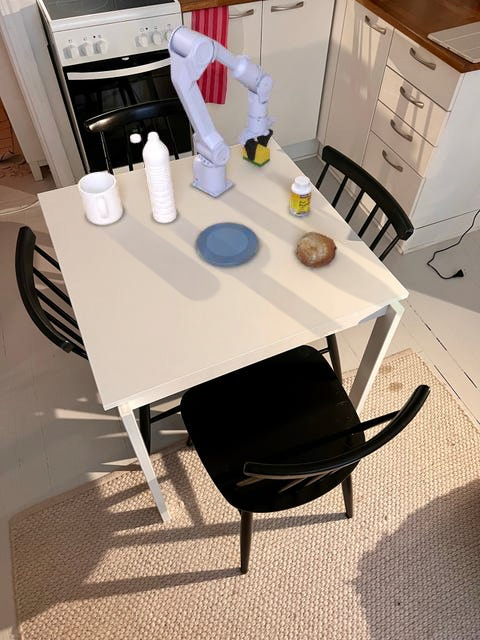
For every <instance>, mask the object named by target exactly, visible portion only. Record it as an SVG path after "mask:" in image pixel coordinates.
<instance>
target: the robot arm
mask: <svg viewBox="0 0 480 640" xmlns="http://www.w3.org/2000/svg"><path fill="white" fill-rule="evenodd" d="M166 47H167V51H168V53H169V56H170V79H171V82H172V85H173V87H174V89H175V91H176V93H177V96H178V98H179V100H180V102H181V104H182V107H183V110H184V111H185V113H186V116H187V118H188V120H189V123H190V124H191V127H192V128H193V131H194V133H193V134H192V138H193V142H194V144H193V147H194V150H195V152H196V153H198V154H197V155H196V156H195V157H194V159H193V163H192V173H193V183H191V185H192V186H193V187H195V188H197V189H199V190H200V191H202V192H204V193H206V194H208V195H210V196H212V197H213V198H217V197H218V196H220V195H221V194H223V193H224V192H226V191H227V190H229V188H231V187H233V185H234V184H233V183H232V182H231V181H229V180H227V163H228V162H229V160H230V158H231V155H232V149H231V146H230V145H228V144H227V143H226V142H225V139H224V138H223V137H222V136H221V135H220V133H219V132H218V131H217V130H216V126H215V125H214V122H213V119H212V117H211V114H210V112H209V110H208V108H207V105H206V103H205V100H204V98H203V97H204V96H203V95H202V92H201V90H200V87H199V85H198V83H197V81H199V80H200V78H201V76H202V75H203V73H204V72H205V71H206V69H207V67H208V66H209V64H210V63H211V64H213V63H214V62H215V61H217V62H218V63H220V64H222V65H223V66H225V67H226V68H227V69H228V74H229V75H230V77H231V78H232V79H234V80H236V81H237V82H238V83H240V84H241V85H242V86H243V87H244V88H247V113H246V115H247V120H246V122H247V123H246V125H247V126H246V127H245V129H244V130H243V131H242V133H241V134H240V135H239V136H238V142H237V143H238V144H240V145H241V146H243V147H245V150H246V153H247V157H248V159H249V160H252V161H254V160H255V155H256V149H257V146H258V144H260V145H262V146H264V147H266V148H268V144H269V143H270V140H271V138H272V136H273V135H274V130H273V129H271V127H274V126H275V124H276V119H275V118H273V117H271V116H269V117H268V113H269V99H270V97H271V92H272V90H273V88H274V83H275V81H274V80H273V78H272V75H271V74H270V73H268V72H267V71H265V70H263V69H262V66H261V65H260V64H258V63H254V62H253V61H251V60H252V58H251V57H250V56H249V55H247V54H244V55H243V54H238V55H235V54H233V53H232V52H231V51H230V50H229V49H227V48H226V47H224V45H222V44H221V43H220V42H218V41H217V40H215V39H213V38H211V37H209V36H207V35H205V34H203V33H200V32H199V31H196V30H194V29H193V30H192V29H191V28H190V27H189V26H186V25H184V24H182V25H178V26H176V27H175V28H174V29H173V31H172V33H171V35H170V37H169V40H168V43H167V45H166ZM255 138H256V139H255Z"/></svg>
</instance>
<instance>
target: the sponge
mask: <svg viewBox="0 0 480 640" xmlns="http://www.w3.org/2000/svg"><path fill="white" fill-rule="evenodd" d="M242 159H243V160H244V161H247V162H248V163H251V164H252V165H255V166H257V167H259V168H262V167H263V166H264V165H267V164H268V163H269V162H270V160H271V149H270V148H269V147H264V146H262V145H260V144H258V146H257V149H256V155H255V160H254V161H252V160H249V159H248V157H247V153H246V150H245V147H244V146H243V147H242Z"/></svg>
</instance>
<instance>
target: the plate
mask: <svg viewBox="0 0 480 640" xmlns="http://www.w3.org/2000/svg"><path fill="white" fill-rule="evenodd" d="M196 240H197V241H196V249H197V252H198V255H199V256H200V257H201V258H202V260H204V261H206V262H207V263H209V264H211V265H213V266H216V267H222V268H223V267H225V268H229V267H230V268H231V267H236V266H241V265H243V264H245V263H247V262H249V261H250V260H252V258H253V257H254V256H255V255H256V253H257V251H258V245H259V242H258V241H259V240H258V237H257V235H256V234H255V232H254V231H253V230H252V229H251V228H249V227H248V226H246V225H244V224H241V223H237V222H226V221H225V222H219V223H215V224H212V225H210V226H207V227H206V228H204V229H203V230H202V231H201V232H200V233H199V235H198V237H197V239H196Z"/></svg>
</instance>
